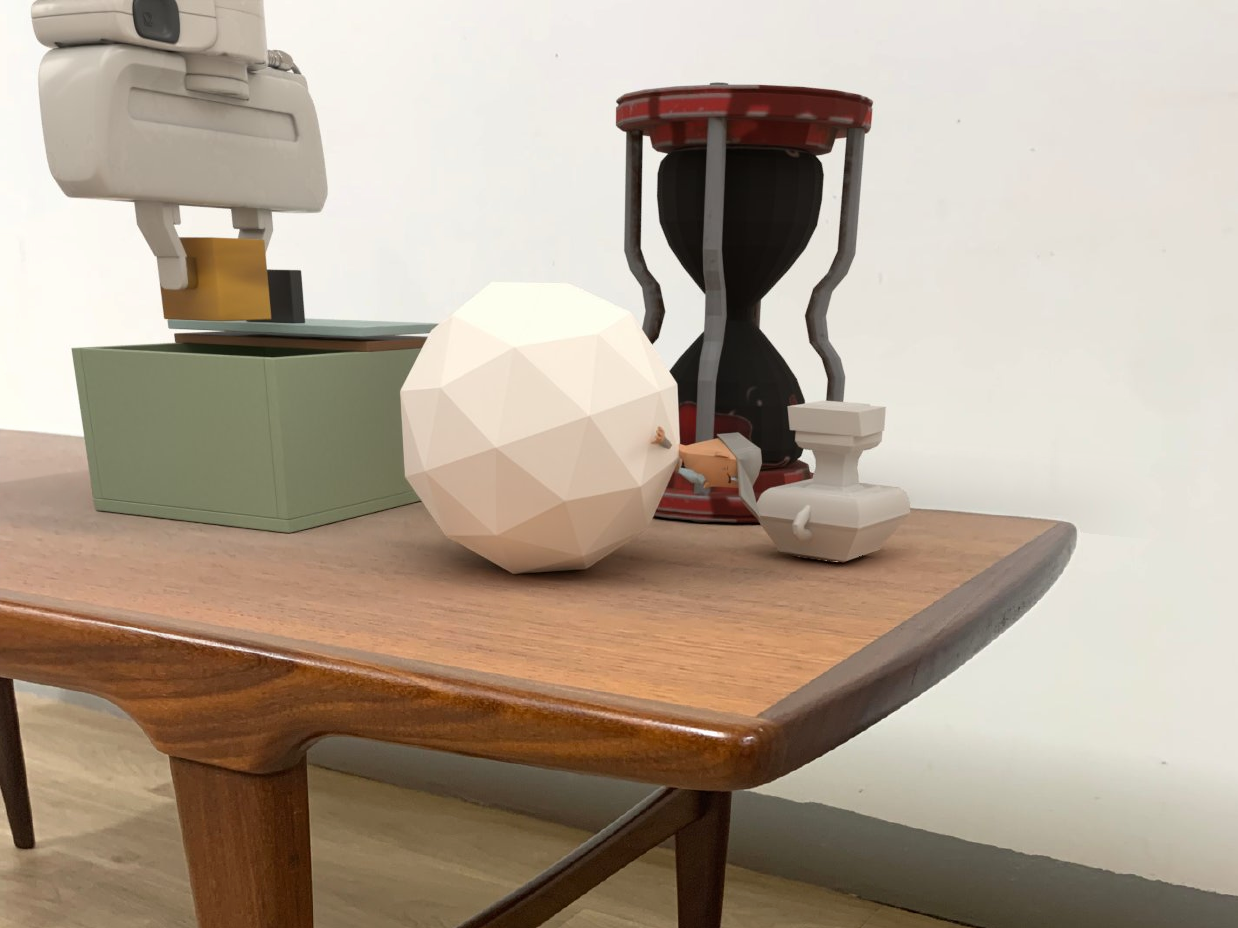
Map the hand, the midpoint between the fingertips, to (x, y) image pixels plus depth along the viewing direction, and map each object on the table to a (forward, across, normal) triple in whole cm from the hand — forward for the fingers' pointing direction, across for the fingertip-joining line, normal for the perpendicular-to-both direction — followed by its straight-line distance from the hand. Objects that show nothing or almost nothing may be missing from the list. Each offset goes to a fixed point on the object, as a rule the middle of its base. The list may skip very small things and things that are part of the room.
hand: (214, 289), depth 80 cm
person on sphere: (+14, +6, +28) cm, 32 cm away
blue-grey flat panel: (+3, -9, 0) cm, 9 cm away
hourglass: (+14, -20, +27) cm, 36 cm away
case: (+14, -4, 0) cm, 14 cm away
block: (+2, 0, 0) cm, 2 cm away
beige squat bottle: (+14, -6, +39) cm, 42 cm away
